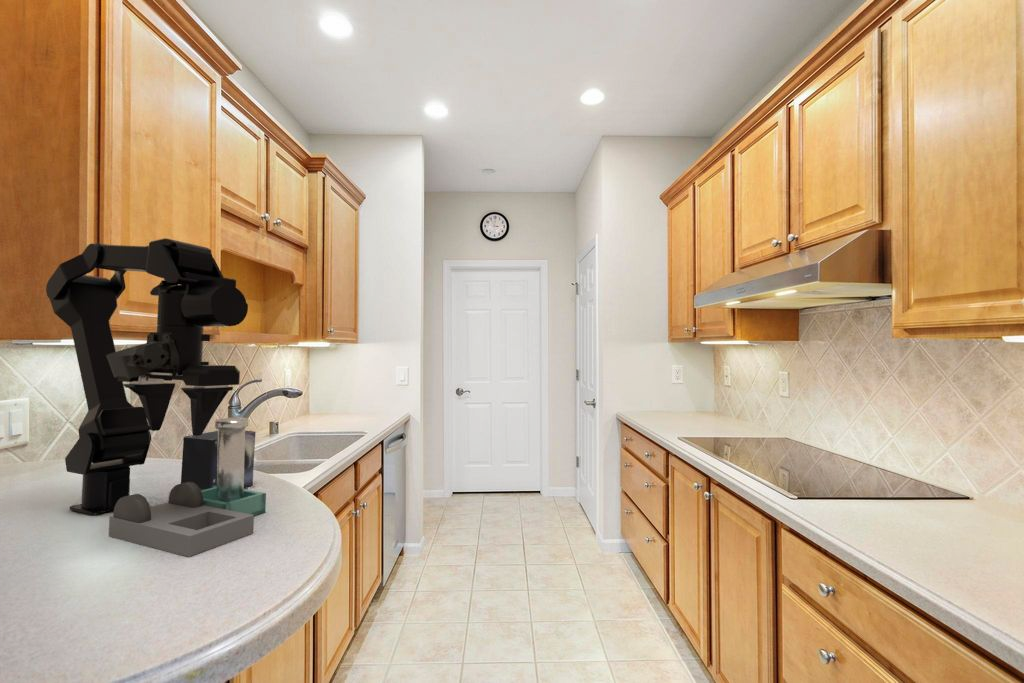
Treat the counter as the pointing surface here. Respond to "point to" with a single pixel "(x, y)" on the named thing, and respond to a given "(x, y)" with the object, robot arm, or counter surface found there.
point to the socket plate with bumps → (178, 522)
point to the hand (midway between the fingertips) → (175, 432)
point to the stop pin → (230, 458)
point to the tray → (237, 502)
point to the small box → (211, 459)
